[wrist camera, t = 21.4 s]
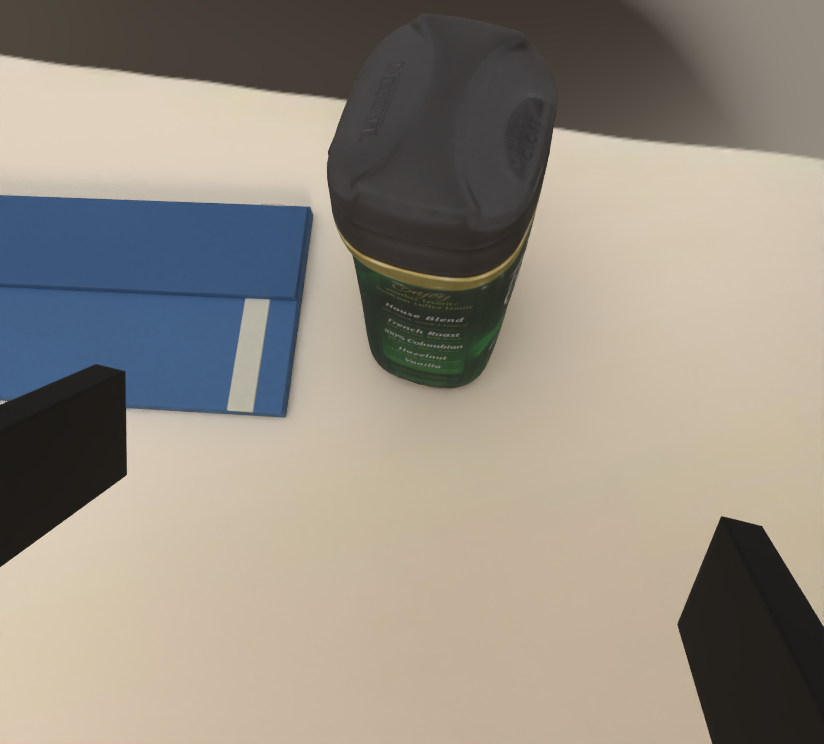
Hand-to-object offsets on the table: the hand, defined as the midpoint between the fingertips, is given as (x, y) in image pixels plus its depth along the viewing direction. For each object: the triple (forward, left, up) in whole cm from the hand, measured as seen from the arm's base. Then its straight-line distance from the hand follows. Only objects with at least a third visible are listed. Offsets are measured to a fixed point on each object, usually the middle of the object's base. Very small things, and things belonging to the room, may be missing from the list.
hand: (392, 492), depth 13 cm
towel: (+22, -13, -21) cm, 33 cm away
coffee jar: (0, -13, -22) cm, 25 cm away
